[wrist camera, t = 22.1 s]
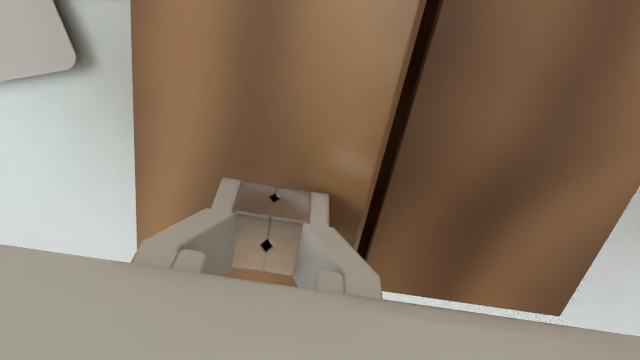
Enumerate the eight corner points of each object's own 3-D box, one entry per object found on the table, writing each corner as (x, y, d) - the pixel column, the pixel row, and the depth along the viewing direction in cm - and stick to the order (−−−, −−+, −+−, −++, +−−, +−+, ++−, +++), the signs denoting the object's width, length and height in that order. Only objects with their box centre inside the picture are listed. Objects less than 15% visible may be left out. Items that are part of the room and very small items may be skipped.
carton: (186, 161, 28) (137, 257, 21) (197, -121, 21) (128, -121, 14) (505, 212, 29) (560, 318, 22) (619, -37, 22) (753, 4, 15)
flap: (144, 252, 21) (136, 256, 21) (138, -118, 14) (126, -119, 14) (323, 374, 17) (317, 382, 17) (438, -40, 10) (431, -39, 10)
